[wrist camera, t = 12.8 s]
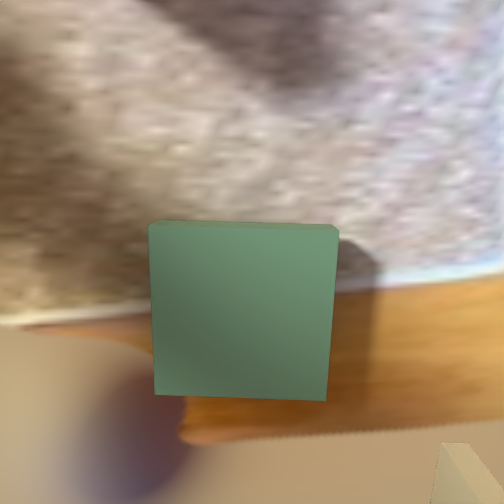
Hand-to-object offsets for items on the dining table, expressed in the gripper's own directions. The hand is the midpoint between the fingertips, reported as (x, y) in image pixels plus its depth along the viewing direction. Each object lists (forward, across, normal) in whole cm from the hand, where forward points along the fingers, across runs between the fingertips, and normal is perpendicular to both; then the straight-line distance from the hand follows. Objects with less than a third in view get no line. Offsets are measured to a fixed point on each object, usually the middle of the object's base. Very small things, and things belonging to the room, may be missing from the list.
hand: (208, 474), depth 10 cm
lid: (+14, 0, 0) cm, 14 cm away
